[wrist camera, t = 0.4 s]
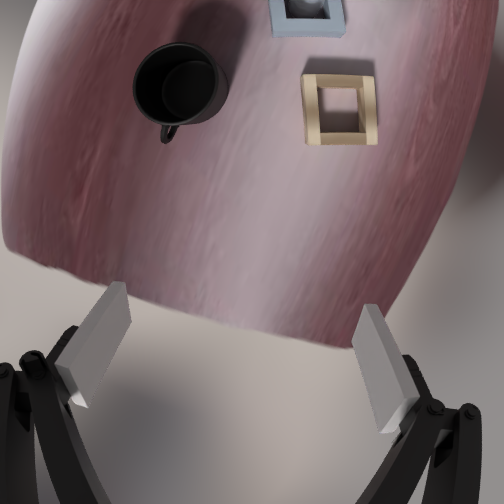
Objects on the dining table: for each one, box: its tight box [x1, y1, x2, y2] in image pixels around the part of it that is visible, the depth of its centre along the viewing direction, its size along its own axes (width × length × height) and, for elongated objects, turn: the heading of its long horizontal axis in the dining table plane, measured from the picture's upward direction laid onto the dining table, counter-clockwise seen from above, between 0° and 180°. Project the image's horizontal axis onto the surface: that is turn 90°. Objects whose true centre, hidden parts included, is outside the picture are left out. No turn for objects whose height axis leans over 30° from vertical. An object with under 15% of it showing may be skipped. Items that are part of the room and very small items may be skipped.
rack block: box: [300, 74, 378, 145], centre depth 34 cm, size 9×9×3 cm
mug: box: [133, 42, 228, 144], centre depth 31 cm, size 9×12×9 cm
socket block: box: [268, 0, 346, 38], centre depth 28 cm, size 9×9×3 cm
